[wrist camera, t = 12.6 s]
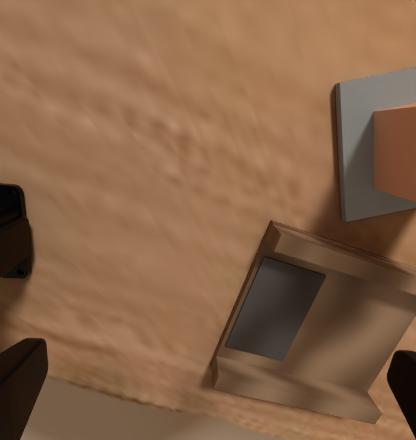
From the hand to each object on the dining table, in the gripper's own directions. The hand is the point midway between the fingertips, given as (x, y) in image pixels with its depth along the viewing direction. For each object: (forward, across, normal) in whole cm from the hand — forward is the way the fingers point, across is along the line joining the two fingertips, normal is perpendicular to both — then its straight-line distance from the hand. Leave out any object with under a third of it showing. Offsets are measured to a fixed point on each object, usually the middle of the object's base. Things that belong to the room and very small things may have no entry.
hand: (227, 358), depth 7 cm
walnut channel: (+13, -10, +8) cm, 18 cm away
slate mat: (+13, -13, -6) cm, 19 cm away
